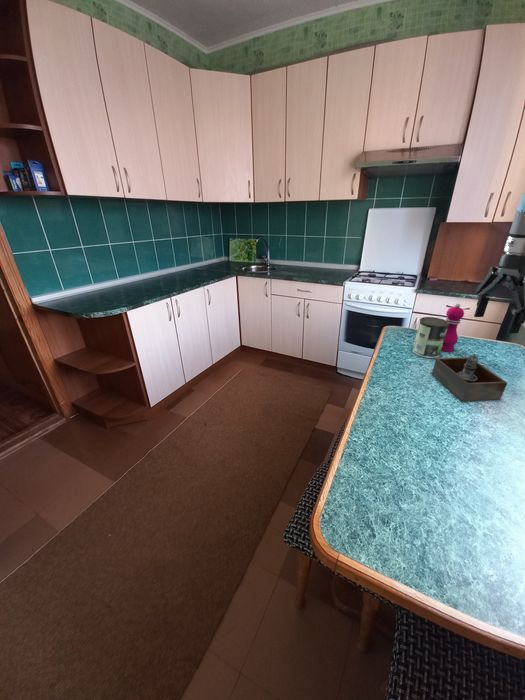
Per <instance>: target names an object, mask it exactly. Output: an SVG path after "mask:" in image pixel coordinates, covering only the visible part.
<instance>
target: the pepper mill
mask: <svg viewBox="0 0 525 700" xmlns="http://www.w3.org/2000/svg"><path fill="white" fill-rule="evenodd" d="M445 315H446V319H445V320H446V321H448V322H449V326H448V328H447V332H446V335H445V339H444V342H443V345H442V349H441V352H447V353H451V352H453V351H454V349H455V345H457V343H458V341H459V340H458V338H459V336H458V333H457V329H458V326H459V324H460V323H461V321H462V320H461V319H463V318H464V316H465V311H464V309H463V308H462V307H461V304H460V303H455V304H454V306H451V307H449V308H448V309H447V310H446V314H445Z"/></svg>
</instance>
